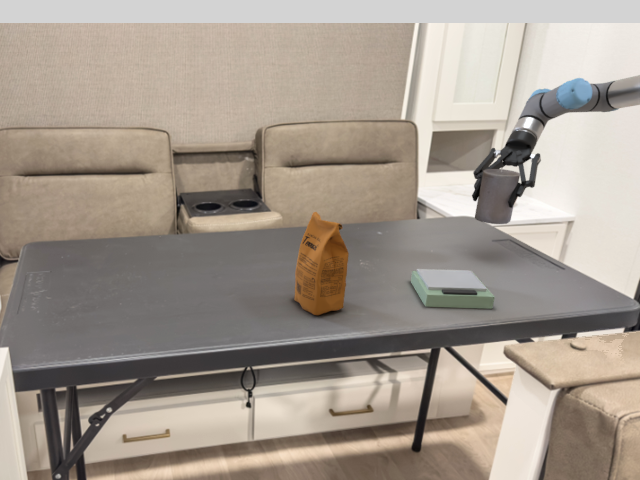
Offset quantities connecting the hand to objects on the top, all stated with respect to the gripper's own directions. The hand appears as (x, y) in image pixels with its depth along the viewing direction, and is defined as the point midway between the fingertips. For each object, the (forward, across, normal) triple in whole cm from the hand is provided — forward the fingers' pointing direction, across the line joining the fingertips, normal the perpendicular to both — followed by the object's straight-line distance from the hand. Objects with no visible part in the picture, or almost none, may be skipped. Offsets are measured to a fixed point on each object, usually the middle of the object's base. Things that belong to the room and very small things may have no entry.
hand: (491, 201), depth 163 cm
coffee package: (+54, +15, +29) cm, 63 cm away
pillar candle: (+2, 0, -6) cm, 7 cm away
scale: (+34, -5, +8) cm, 35 cm away
